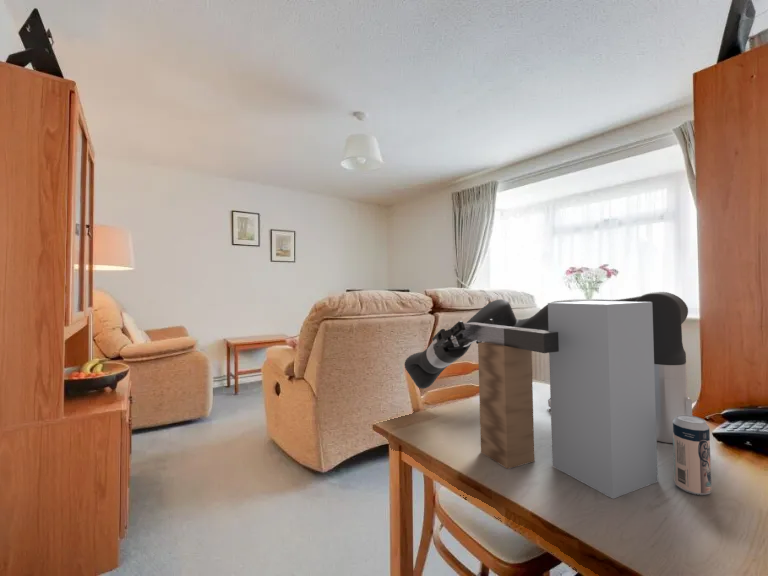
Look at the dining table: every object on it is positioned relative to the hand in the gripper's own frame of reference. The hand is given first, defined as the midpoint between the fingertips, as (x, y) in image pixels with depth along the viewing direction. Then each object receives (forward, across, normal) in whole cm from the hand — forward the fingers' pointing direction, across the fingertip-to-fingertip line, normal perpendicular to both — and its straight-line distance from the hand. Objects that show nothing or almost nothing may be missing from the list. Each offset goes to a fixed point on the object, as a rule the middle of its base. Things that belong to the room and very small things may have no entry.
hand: (478, 323), depth 82 cm
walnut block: (-6, 0, -28) cm, 28 cm away
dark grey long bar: (+6, 0, -7) cm, 9 cm away
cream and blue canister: (+13, -20, -39) cm, 46 cm away
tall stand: (+5, -11, -34) cm, 36 cm away
